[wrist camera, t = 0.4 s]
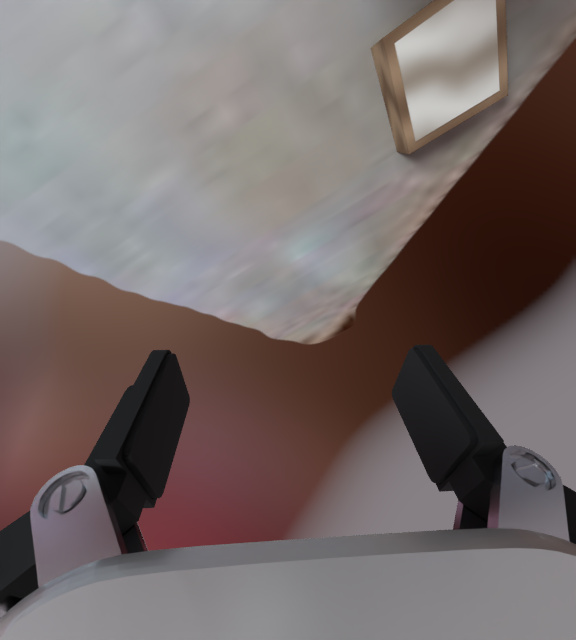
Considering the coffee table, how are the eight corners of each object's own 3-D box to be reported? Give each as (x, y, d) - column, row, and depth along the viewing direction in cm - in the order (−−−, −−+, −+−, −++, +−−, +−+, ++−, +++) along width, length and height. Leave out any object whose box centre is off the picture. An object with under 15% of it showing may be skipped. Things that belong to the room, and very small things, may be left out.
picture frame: (370, 48, 30) (383, 37, 27) (476, -30, 27) (505, -53, 24) (397, 152, 37) (410, 154, 34) (485, 98, 34) (509, 94, 31)
